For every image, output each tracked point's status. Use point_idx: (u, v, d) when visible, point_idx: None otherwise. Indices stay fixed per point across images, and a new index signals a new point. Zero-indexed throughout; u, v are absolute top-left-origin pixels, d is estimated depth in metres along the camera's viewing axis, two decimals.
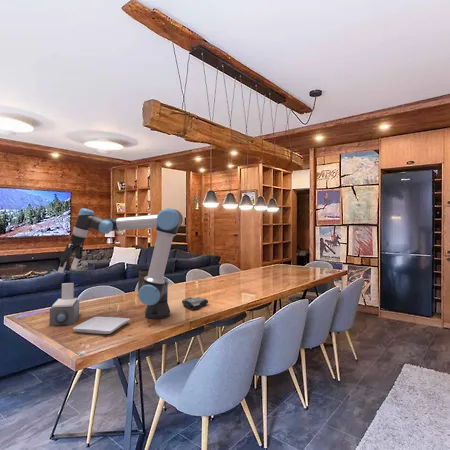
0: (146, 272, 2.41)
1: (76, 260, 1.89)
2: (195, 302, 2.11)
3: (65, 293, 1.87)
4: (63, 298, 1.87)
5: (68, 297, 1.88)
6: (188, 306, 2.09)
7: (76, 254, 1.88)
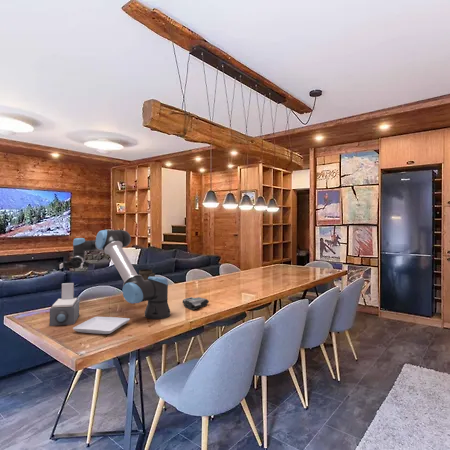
0: (146, 272, 2.41)
1: None
2: (196, 302, 2.10)
3: (65, 293, 1.87)
4: (63, 298, 1.87)
5: (68, 297, 1.88)
6: (189, 306, 2.09)
7: (81, 264, 2.08)
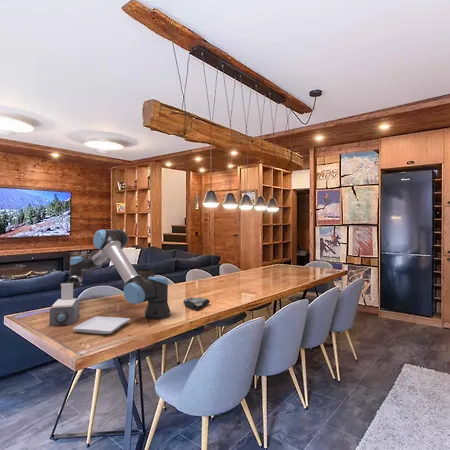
0: (146, 272, 2.41)
1: None
2: (198, 302, 2.10)
3: (65, 293, 1.86)
4: (63, 298, 1.86)
5: (68, 297, 1.87)
6: (191, 306, 2.09)
7: None
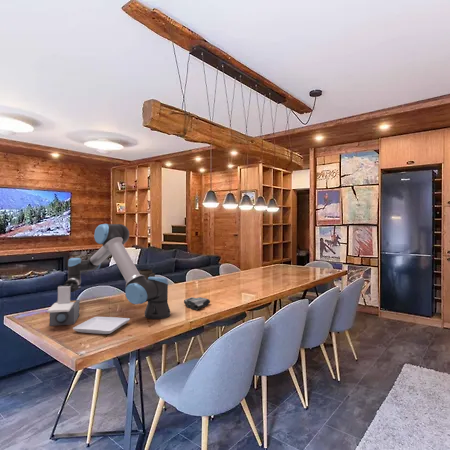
0: (146, 272, 2.41)
1: None
2: (198, 302, 2.11)
3: (61, 297, 1.78)
4: (59, 302, 1.77)
5: (65, 301, 1.78)
6: (192, 306, 2.09)
7: None
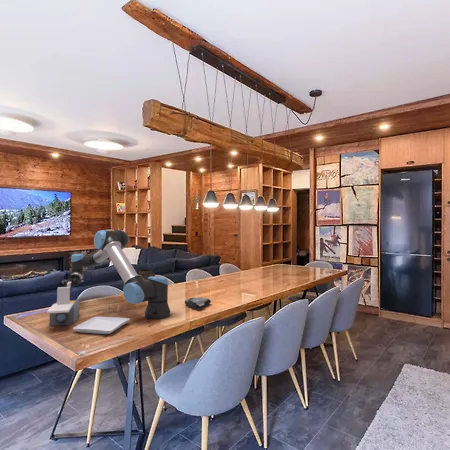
0: (146, 272, 2.41)
1: None
2: (200, 302, 2.11)
3: (61, 298, 1.76)
4: (59, 303, 1.76)
5: (64, 302, 1.77)
6: (193, 306, 2.08)
7: None
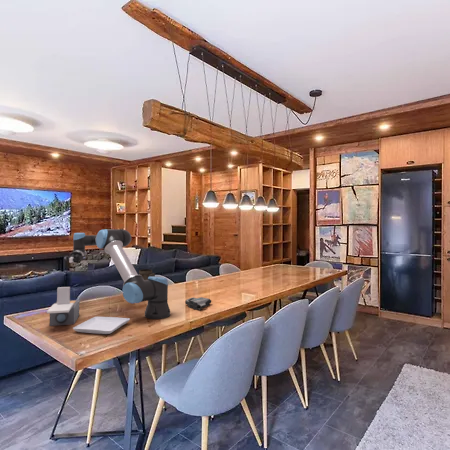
0: (146, 272, 2.41)
1: None
2: (201, 302, 2.11)
3: (61, 298, 1.76)
4: (59, 303, 1.76)
5: (64, 302, 1.77)
6: (194, 306, 2.08)
7: None
